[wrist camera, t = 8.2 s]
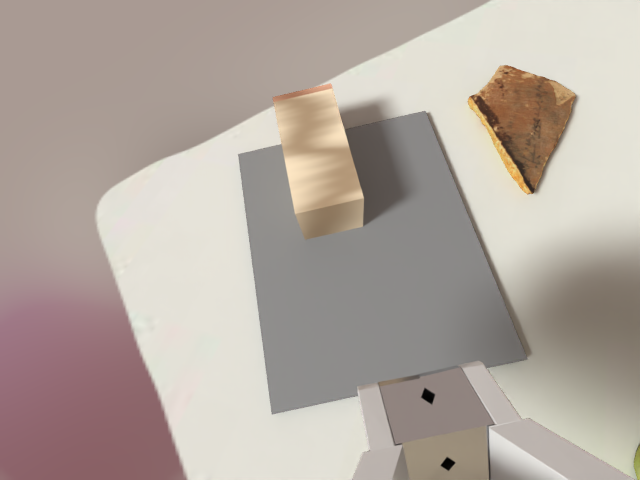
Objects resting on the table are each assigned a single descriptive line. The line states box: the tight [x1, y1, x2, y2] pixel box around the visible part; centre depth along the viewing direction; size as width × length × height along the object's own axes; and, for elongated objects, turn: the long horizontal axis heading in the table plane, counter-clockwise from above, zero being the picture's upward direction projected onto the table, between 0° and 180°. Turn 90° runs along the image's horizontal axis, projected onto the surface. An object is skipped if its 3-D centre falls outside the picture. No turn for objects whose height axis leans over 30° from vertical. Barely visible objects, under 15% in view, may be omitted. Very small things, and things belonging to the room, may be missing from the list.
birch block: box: [273, 84, 364, 240], centre depth 26 cm, size 4×4×10 cm
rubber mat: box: [238, 111, 527, 414], centre depth 26 cm, size 16×20×1 cm
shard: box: [468, 65, 576, 195], centre depth 28 cm, size 11×8×2 cm
